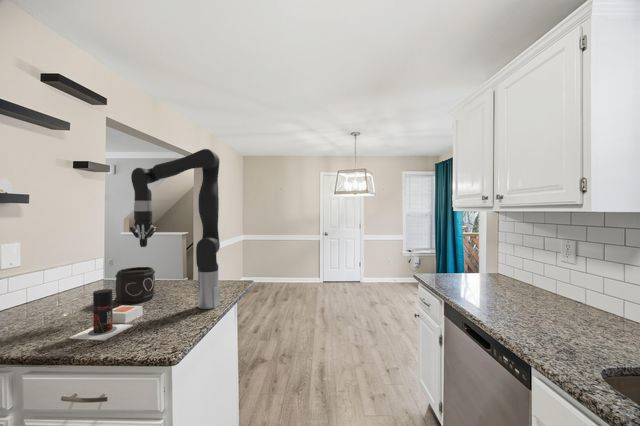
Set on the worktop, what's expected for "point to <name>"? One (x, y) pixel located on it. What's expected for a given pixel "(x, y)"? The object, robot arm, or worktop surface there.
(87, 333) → the white flat square slab
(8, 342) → the worktop surface
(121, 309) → the button
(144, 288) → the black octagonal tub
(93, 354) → the worktop surface
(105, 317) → the deodorant
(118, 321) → the button housing
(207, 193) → the robot arm
